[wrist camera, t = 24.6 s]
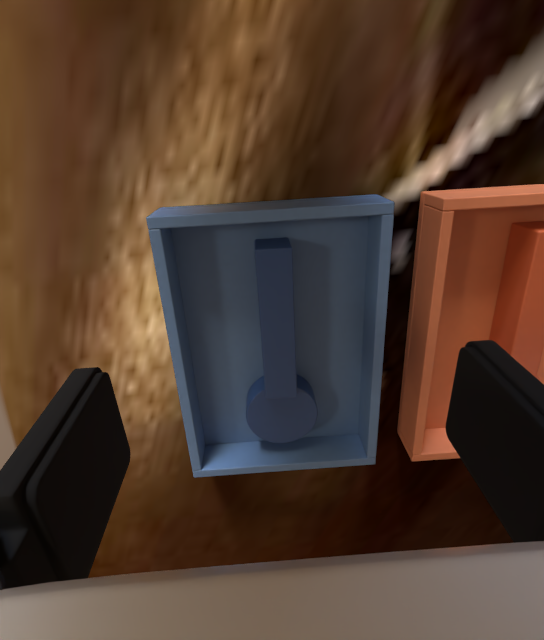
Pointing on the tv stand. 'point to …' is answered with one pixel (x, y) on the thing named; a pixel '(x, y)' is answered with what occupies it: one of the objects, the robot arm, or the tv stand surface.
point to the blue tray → (244, 324)
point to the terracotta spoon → (522, 297)
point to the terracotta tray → (454, 299)
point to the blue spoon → (278, 352)
